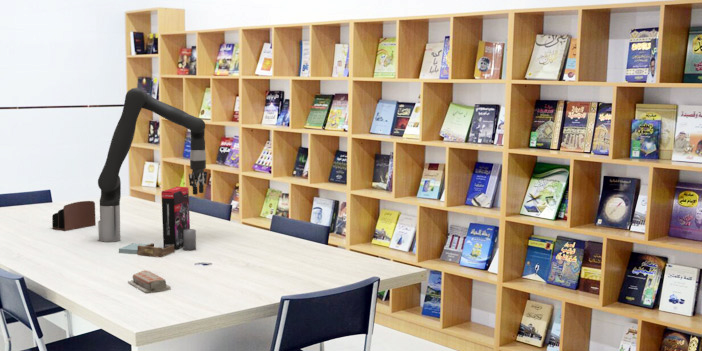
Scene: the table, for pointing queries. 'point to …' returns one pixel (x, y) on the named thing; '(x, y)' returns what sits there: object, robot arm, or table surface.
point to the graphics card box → (175, 216)
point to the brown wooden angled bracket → (154, 250)
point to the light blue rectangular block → (131, 248)
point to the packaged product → (149, 282)
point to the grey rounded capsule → (189, 239)
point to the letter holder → (75, 216)
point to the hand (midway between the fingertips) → (198, 193)
